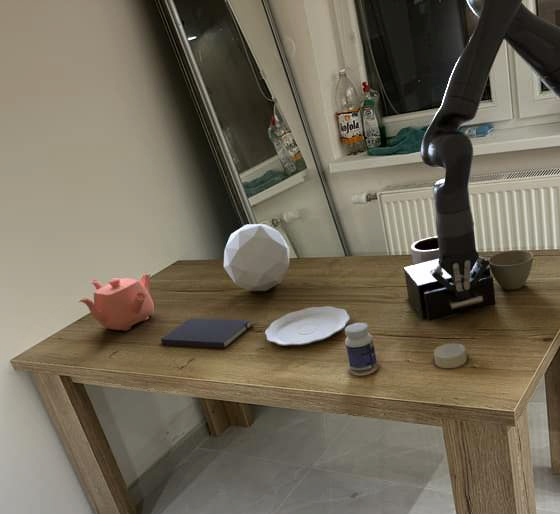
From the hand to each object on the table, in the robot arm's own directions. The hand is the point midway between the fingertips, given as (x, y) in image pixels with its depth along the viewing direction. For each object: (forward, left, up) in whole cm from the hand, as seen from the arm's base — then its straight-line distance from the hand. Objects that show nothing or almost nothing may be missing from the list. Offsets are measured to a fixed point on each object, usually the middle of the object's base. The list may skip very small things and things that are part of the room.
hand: (463, 304), depth 150 cm
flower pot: (-16, -13, -4) cm, 21 cm away
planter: (-2, -29, -4) cm, 29 cm away
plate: (+34, -16, -4) cm, 38 cm away
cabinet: (0, -13, -4) cm, 13 cm away
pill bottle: (+25, +11, -4) cm, 28 cm away
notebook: (+60, -29, -4) cm, 67 cm away
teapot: (+85, -53, -4) cm, 100 cm away
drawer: (0, -6, -3) cm, 7 cm away
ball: (+43, -55, -4) cm, 70 cm away
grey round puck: (+8, +16, -4) cm, 19 cm away
